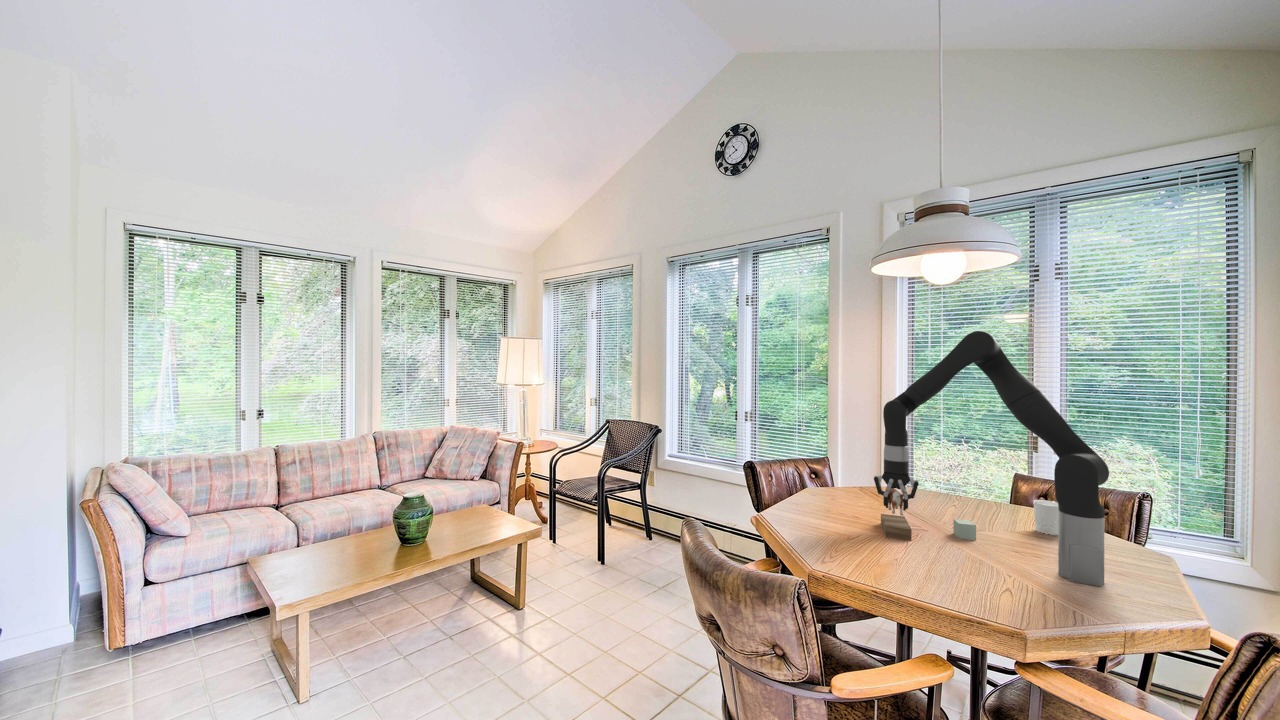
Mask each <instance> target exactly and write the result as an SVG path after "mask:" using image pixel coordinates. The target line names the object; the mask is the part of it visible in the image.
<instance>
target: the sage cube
mask: <svg viewBox="0 0 1280 720" xmlns="http://www.w3.org/2000/svg"><path fill="white" fill-rule="evenodd" d="M952 521H953V526H952V527H953V531H952V532H953V535H954V536H955V537H956V538H957V539H958V540H959V539H961V540H971V541H977V524H976V523H974V522H973V521H972V520H969V519H960V518H959V519H955V518H954V519H953V520H952Z"/></svg>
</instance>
